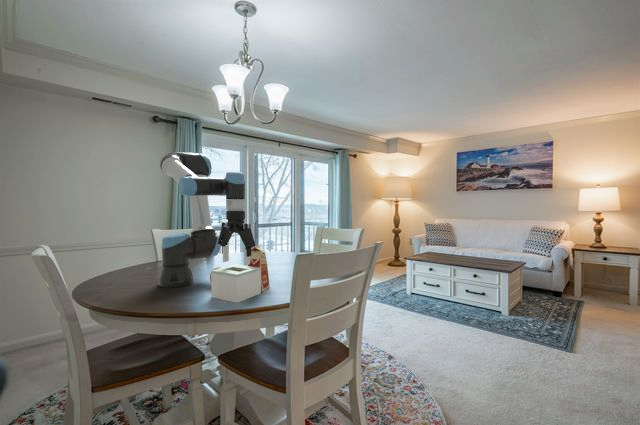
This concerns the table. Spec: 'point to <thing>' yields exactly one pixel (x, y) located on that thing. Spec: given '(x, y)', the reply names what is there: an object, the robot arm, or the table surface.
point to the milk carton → (260, 265)
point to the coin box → (236, 282)
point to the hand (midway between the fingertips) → (236, 262)
